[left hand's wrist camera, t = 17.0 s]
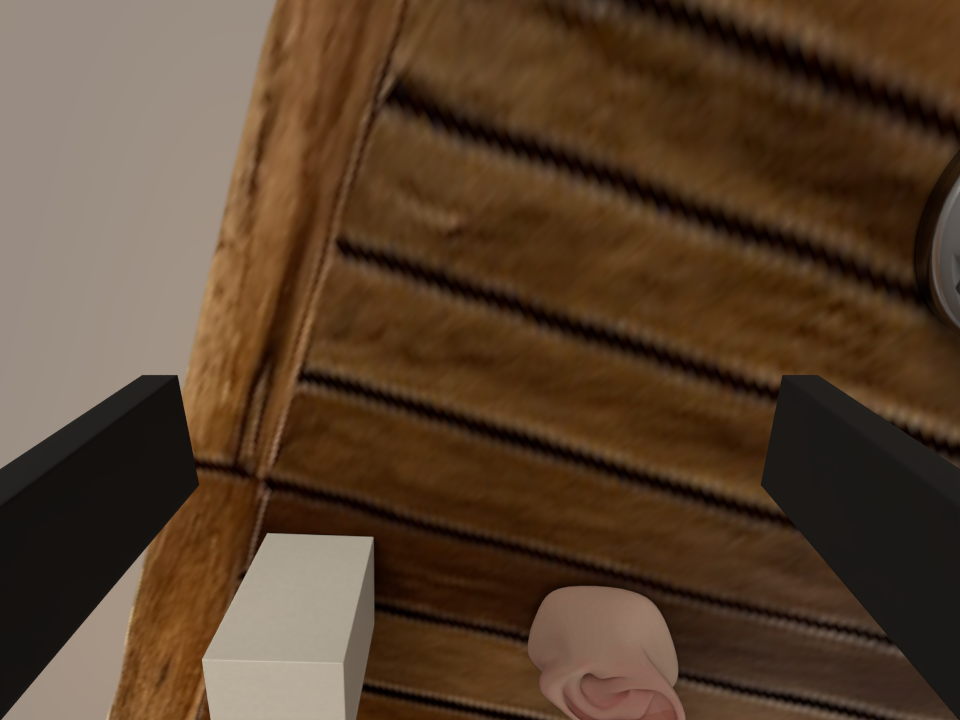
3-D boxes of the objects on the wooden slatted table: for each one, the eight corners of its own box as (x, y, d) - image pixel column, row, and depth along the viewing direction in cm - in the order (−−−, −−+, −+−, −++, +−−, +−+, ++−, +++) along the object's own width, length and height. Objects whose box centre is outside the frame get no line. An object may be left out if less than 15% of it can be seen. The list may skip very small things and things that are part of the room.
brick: (373, 536, 41) (343, 663, 31) (374, 624, 44) (346, 766, 34) (267, 532, 40) (201, 659, 30) (274, 621, 43) (217, 764, 33)
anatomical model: (520, 637, 39) (687, 609, 38) (515, 594, 43) (668, 568, 42) (548, 766, 44) (698, 743, 43) (542, 717, 47) (680, 696, 47)
